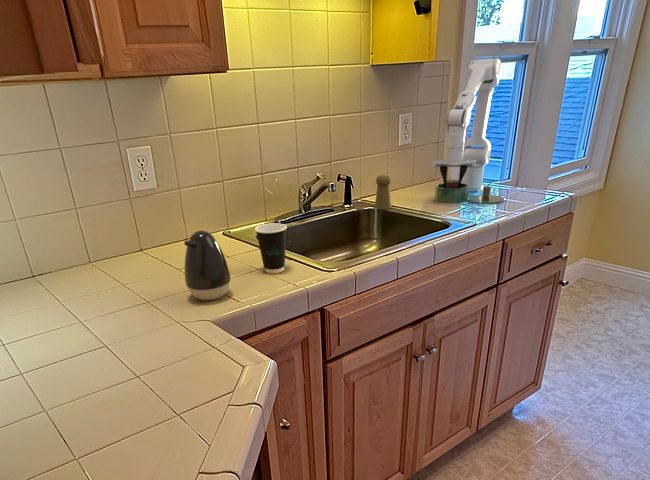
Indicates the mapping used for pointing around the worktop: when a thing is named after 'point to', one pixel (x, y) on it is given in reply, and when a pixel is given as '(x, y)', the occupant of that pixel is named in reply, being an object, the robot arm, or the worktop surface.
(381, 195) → the beige peg figure
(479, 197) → the lid
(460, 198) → the green pot
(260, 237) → the dixie cup
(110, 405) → the worktop surface
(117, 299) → the worktop surface
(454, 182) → the block
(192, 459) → the worktop surface
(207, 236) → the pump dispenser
